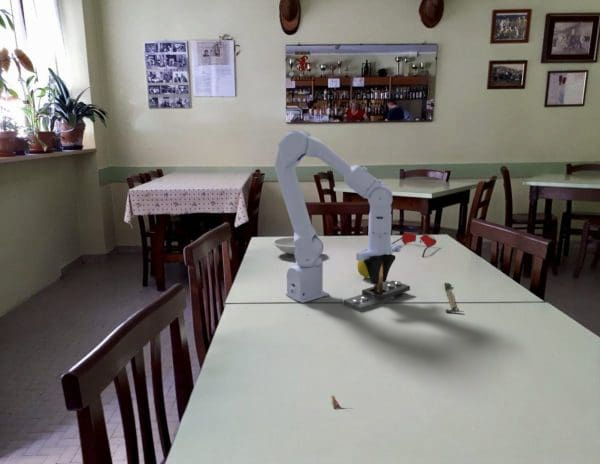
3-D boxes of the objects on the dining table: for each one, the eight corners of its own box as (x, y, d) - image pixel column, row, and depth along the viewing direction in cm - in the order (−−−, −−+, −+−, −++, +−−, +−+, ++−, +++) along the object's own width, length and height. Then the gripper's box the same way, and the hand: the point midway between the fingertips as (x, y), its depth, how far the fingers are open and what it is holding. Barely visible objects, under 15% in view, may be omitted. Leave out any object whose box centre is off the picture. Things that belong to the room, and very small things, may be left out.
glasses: (436, 248, 172) (437, 235, 171) (423, 258, 158) (423, 244, 157) (401, 243, 179) (402, 231, 178) (385, 253, 166) (386, 239, 165)
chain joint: (359, 311, 112) (360, 300, 112) (343, 304, 117) (343, 293, 116) (409, 294, 123) (410, 284, 123) (392, 288, 128) (393, 278, 127)
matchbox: (362, 407, 74) (363, 405, 74) (333, 413, 73) (333, 411, 73) (351, 392, 79) (351, 390, 79) (323, 398, 77) (323, 395, 77)
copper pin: (378, 293, 118) (379, 263, 116) (371, 290, 120) (372, 261, 118) (384, 291, 119) (385, 262, 118) (378, 288, 121) (378, 260, 119)
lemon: (370, 282, 133) (370, 256, 131) (353, 279, 136) (354, 253, 135) (378, 277, 137) (379, 252, 136) (362, 274, 141) (363, 249, 139)
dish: (267, 259, 157) (267, 245, 156) (277, 249, 171) (276, 236, 170) (318, 261, 154) (318, 247, 153) (323, 250, 168) (323, 237, 167)
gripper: (371, 239, 109) (369, 292, 112) (410, 230, 117) (408, 280, 120) (350, 233, 114) (350, 284, 117) (389, 226, 123) (388, 273, 126)
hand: (378, 282), depth 119 cm, fingers closed on copper pin, 2 cm apart
